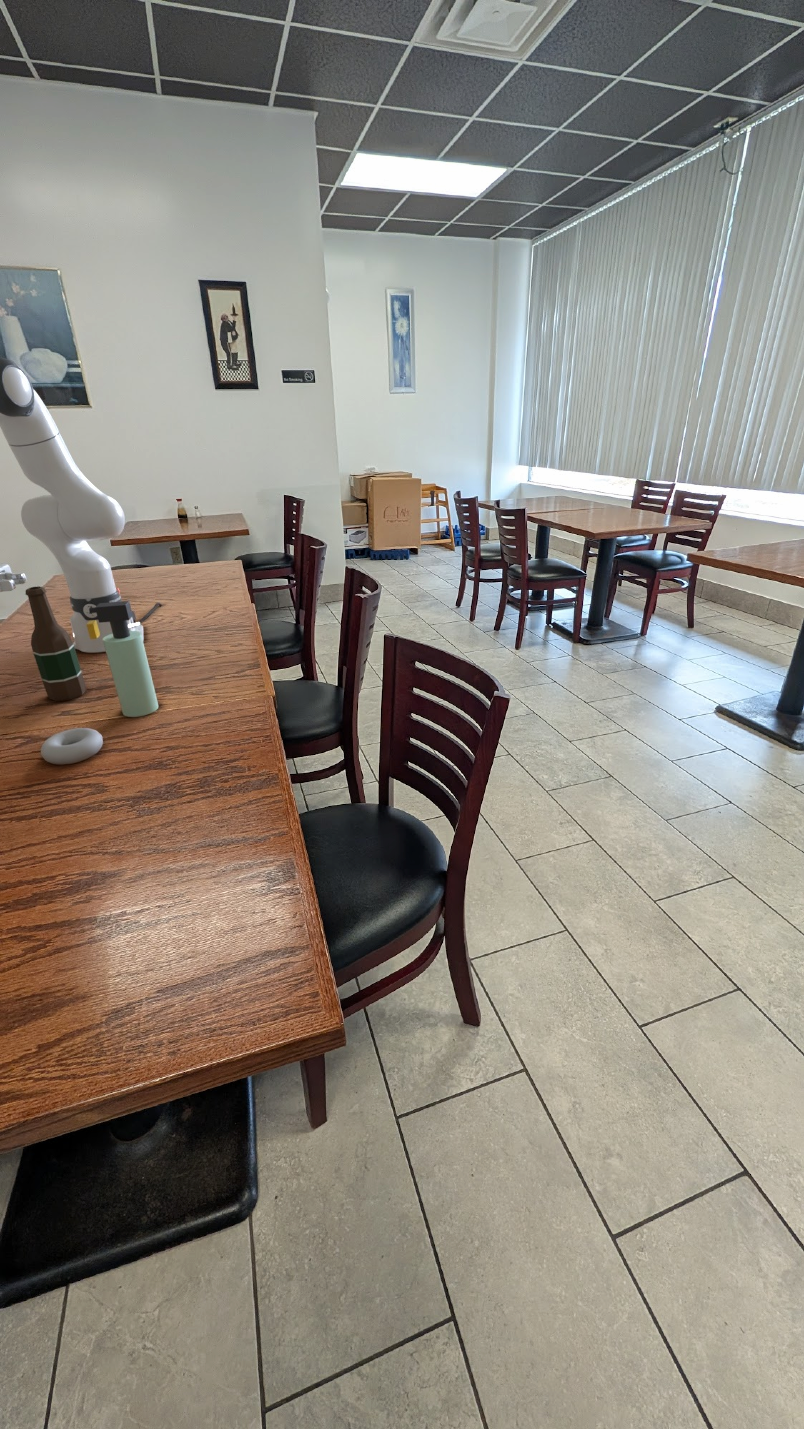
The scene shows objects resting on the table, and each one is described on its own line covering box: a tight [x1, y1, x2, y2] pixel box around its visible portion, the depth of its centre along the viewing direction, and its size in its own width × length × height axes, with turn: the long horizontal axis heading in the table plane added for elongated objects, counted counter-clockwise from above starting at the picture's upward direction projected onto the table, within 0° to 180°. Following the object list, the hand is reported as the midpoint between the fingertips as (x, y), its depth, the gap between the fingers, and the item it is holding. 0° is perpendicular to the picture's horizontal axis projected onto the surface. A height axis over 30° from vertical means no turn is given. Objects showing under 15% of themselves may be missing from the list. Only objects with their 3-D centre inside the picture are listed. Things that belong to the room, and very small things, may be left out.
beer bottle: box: [25, 585, 87, 702], centre depth 125 cm, size 8×8×24 cm
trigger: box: [86, 620, 100, 639], centre depth 113 cm, size 2×1×3 cm, turn 11°
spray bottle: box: [89, 600, 159, 718], centre depth 117 cm, size 7×8×22 cm
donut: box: [40, 727, 104, 766], centre depth 105 cm, size 10×4×10 cm
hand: (19, 581), depth 107 cm, fingers open, 4 cm apart
